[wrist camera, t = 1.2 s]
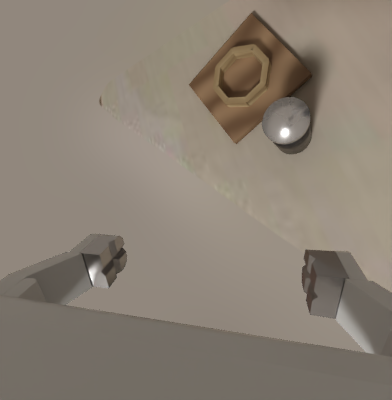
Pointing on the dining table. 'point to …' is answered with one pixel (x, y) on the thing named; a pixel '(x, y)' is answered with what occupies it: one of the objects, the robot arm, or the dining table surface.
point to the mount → (248, 78)
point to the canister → (288, 124)
